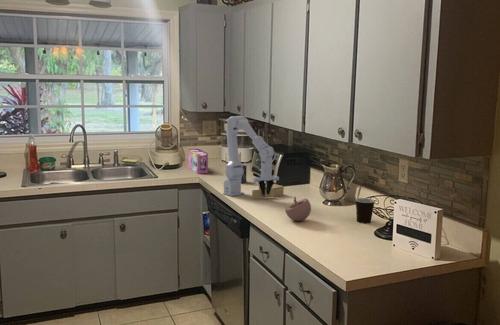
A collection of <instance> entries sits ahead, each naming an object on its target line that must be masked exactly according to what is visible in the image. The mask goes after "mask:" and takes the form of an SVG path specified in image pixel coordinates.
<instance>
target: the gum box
mask: <svg viewBox="0 0 500 325" xmlns="http://www.w3.org/2000/svg"><path fill="white" fill-rule="evenodd" d="M187 155H188V156H187V158H188V160H187V161H188V162H187V164H188V165H187V167H188V169H190V170H191V171H193V172H194V173H196V174H198V175H199V174H202V175H203V174H209V153H208V152H205V151H204V150H201V149H200V148H189V149H187Z"/></svg>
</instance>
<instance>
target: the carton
mask: <svg viewBox="0 0 500 325" xmlns="http://www.w3.org/2000/svg"><path fill="white" fill-rule="evenodd" d="M265 189H267V185H266V186H265ZM271 189H274V196H273V197H272V198H276V197H280V196H284V193H285V192H284V185H279V184H277V183H274V184H273V186H272V188H271ZM258 190H261V188H260V185H259V184H258Z"/></svg>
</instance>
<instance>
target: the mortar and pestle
mask: <svg viewBox="0 0 500 325" xmlns="http://www.w3.org/2000/svg"><path fill="white" fill-rule="evenodd" d="M284 211H285V214H286V216H287V217H288V218H289V219H290V220H292V221H295V222H302V221H304V220H306V219H308V217H309V216H310V215H311V211H312V205H311V202H310V201H309V199H308V198H303V199H300V200H297V197H296V196H293V202H292V203H291V204H289V205H287V206H286V207H285V208H284Z"/></svg>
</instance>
